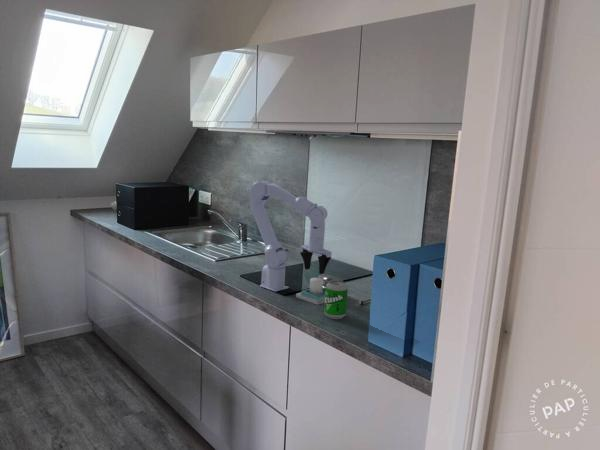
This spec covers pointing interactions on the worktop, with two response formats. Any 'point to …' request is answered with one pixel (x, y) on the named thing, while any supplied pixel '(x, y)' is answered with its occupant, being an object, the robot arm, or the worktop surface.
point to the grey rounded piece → (316, 286)
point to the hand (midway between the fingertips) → (314, 271)
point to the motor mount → (312, 297)
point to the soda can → (335, 299)
